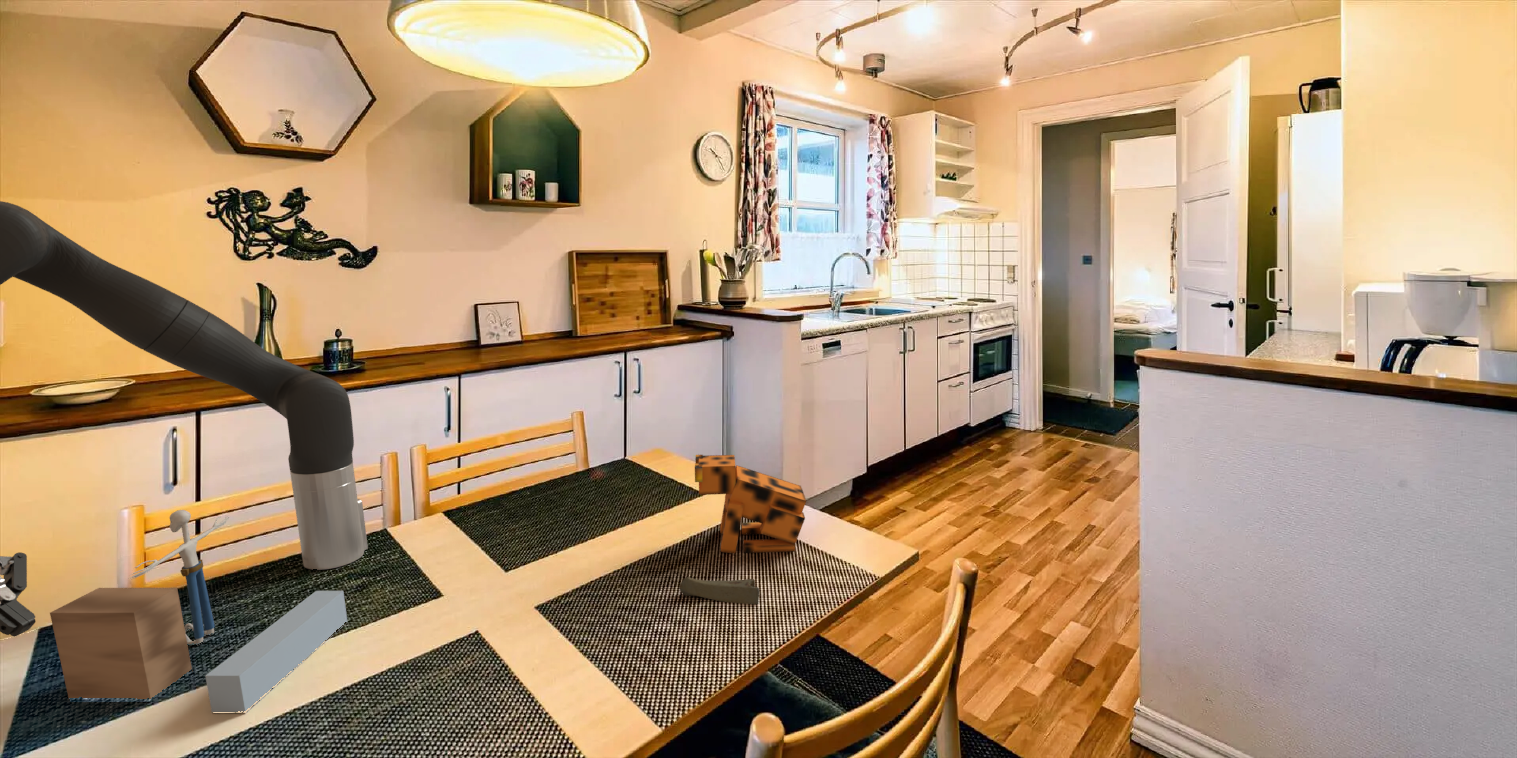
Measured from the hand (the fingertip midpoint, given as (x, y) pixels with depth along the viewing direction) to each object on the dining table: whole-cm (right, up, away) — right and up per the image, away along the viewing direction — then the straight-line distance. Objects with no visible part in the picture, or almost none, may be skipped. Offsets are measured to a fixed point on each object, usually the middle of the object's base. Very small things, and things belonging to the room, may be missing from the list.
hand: (26, 629), depth 83 cm
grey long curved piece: (+85, -4, +23) cm, 88 cm away
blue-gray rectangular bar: (+28, -7, +6) cm, 29 cm away
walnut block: (+12, -8, +1) cm, 14 cm away
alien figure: (+11, -6, +12) cm, 17 cm away
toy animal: (+89, 0, +43) cm, 99 cm away
